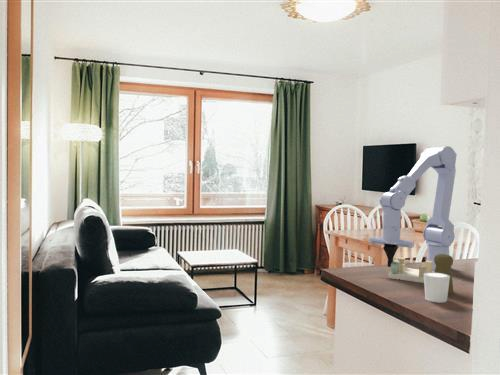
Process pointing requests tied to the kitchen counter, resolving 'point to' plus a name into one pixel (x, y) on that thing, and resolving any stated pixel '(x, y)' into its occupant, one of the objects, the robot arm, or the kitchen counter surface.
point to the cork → (444, 268)
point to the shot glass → (436, 286)
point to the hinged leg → (394, 266)
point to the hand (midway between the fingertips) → (390, 266)
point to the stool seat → (412, 271)
